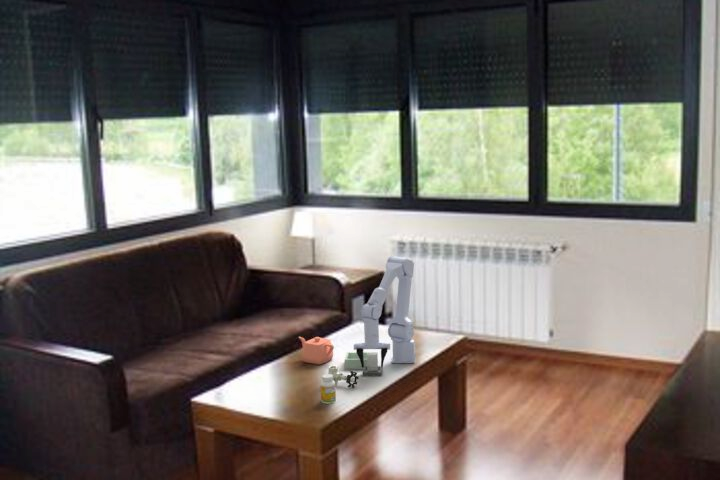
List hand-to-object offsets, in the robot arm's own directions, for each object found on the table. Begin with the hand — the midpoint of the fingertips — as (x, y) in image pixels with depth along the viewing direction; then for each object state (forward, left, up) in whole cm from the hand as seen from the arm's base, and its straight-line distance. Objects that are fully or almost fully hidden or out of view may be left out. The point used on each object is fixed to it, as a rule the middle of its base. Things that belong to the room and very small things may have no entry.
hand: (372, 366), depth 314 cm
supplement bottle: (+14, +31, -3) cm, 34 cm away
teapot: (+25, -16, -3) cm, 30 cm away
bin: (+7, -10, -3) cm, 13 cm away
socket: (0, 0, -3) cm, 3 cm away
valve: (+11, +14, -3) cm, 18 cm away
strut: (0, 0, -3) cm, 3 cm away
